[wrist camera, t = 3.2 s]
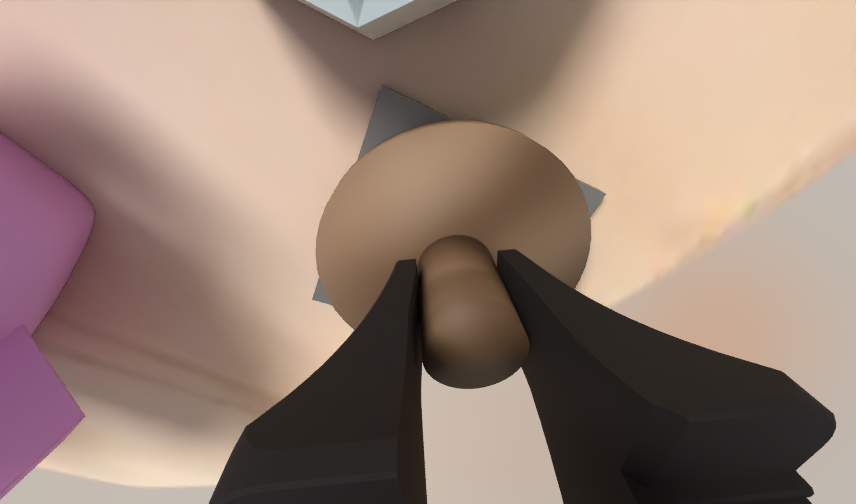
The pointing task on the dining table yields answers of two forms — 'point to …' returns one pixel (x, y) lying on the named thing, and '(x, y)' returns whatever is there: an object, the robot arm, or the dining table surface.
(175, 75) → the dining table surface
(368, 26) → the bowl
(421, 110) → the mat
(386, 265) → the lid
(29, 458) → the teakettle
